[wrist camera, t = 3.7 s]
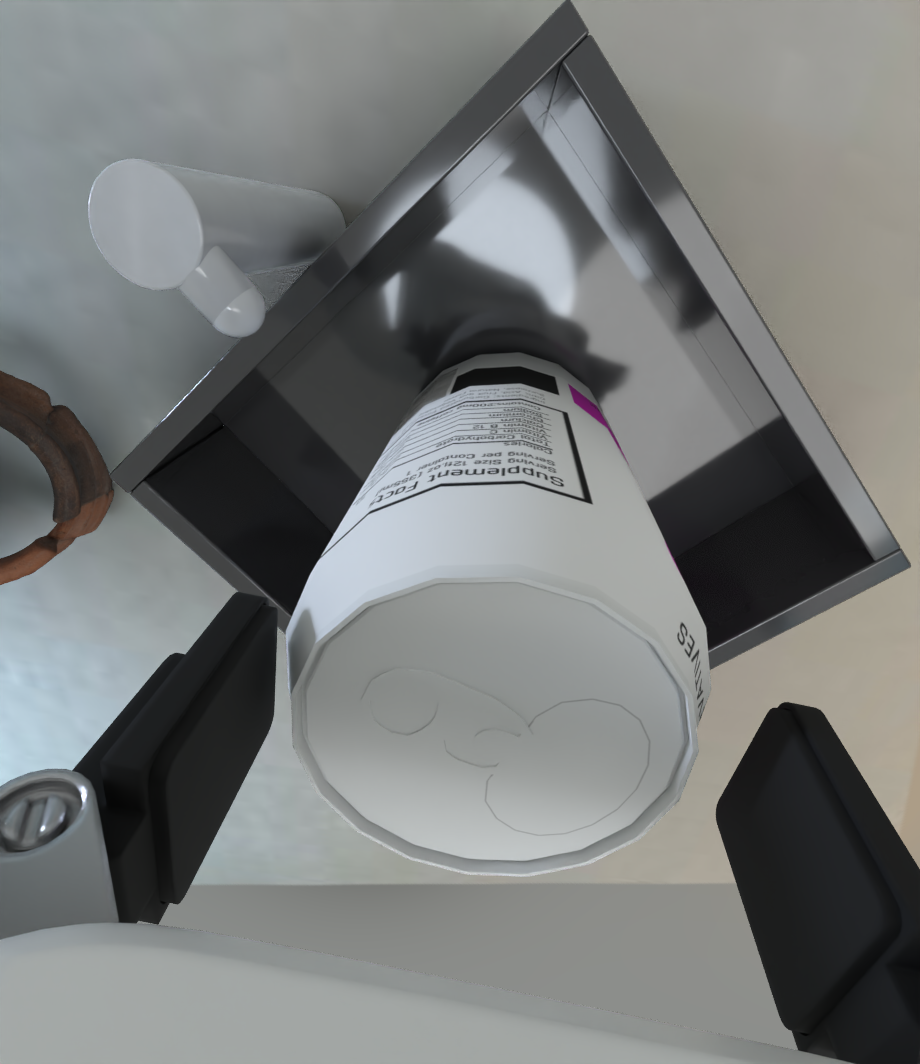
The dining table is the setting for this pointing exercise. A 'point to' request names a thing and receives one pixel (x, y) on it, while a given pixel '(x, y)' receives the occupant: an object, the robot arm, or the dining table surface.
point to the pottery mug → (55, 471)
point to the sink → (490, 345)
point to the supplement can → (499, 636)
